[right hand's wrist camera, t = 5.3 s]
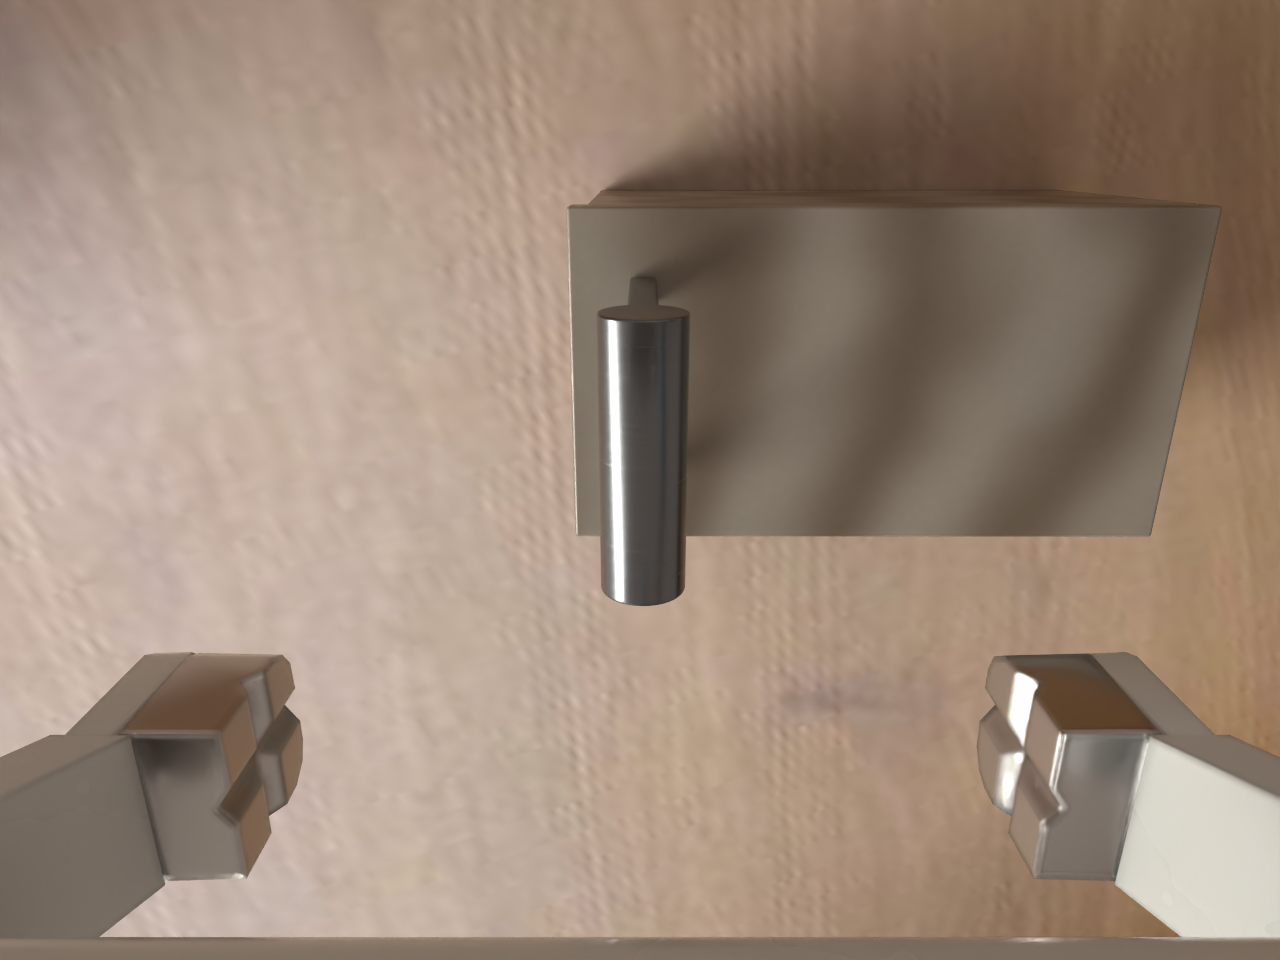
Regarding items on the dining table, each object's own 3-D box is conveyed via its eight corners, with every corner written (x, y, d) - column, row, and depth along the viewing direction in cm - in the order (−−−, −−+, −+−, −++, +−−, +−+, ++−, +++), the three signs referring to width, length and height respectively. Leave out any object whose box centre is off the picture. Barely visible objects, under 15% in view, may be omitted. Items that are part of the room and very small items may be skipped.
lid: (577, 524, 27) (551, 673, 19) (568, 204, 24) (533, 230, 16) (1134, 524, 27) (1331, 674, 19) (1202, 203, 24) (1470, 229, 16)
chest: (604, 436, 35) (592, 524, 27) (600, 190, 32) (585, 204, 24) (1019, 437, 35) (1134, 524, 27) (1058, 190, 32) (1201, 203, 24)
